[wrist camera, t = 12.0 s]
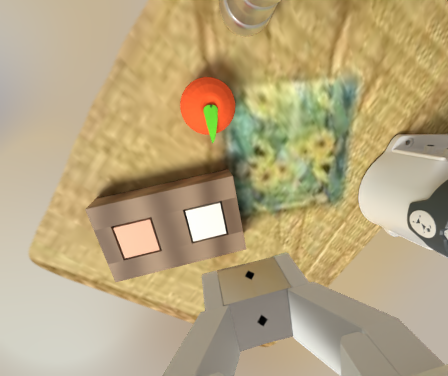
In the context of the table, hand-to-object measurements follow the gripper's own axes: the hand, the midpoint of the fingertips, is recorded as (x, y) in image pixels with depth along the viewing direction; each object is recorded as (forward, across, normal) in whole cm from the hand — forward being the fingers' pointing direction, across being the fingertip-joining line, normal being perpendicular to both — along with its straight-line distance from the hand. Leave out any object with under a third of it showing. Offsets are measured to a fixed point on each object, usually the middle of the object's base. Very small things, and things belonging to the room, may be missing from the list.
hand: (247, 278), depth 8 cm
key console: (+29, +6, +10) cm, 31 cm away
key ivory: (+28, +1, +10) cm, 30 cm away
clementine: (+29, -2, -5) cm, 30 cm away
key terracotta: (+28, +11, +10) cm, 32 cm away
